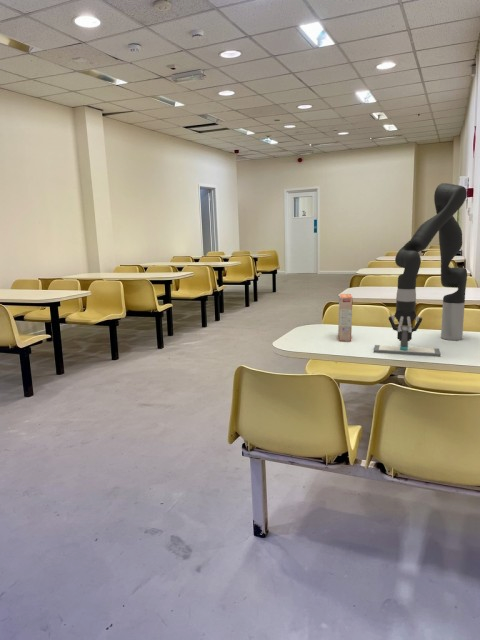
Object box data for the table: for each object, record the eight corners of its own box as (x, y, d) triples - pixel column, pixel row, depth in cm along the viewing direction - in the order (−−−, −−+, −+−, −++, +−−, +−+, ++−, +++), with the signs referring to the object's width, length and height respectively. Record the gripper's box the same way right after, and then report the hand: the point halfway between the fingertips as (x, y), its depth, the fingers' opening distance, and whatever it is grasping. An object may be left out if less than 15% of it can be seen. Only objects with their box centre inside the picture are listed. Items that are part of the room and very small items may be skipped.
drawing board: (375, 347, 206) (375, 344, 206) (438, 350, 197) (439, 348, 197) (373, 352, 197) (373, 349, 197) (440, 356, 188) (440, 353, 188)
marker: (400, 348, 197) (401, 325, 195) (407, 349, 196) (408, 325, 194) (400, 350, 194) (401, 326, 193) (407, 350, 193) (408, 326, 192)
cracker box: (352, 341, 218) (353, 297, 214) (338, 341, 219) (339, 297, 215) (350, 335, 231) (351, 293, 228) (338, 335, 232) (338, 293, 229)
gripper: (424, 298, 193) (422, 339, 196) (388, 298, 197) (387, 337, 200) (424, 301, 186) (422, 343, 189) (387, 300, 190) (386, 341, 194)
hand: (404, 340), depth 195 cm, fingers closed on marker, 3 cm apart
